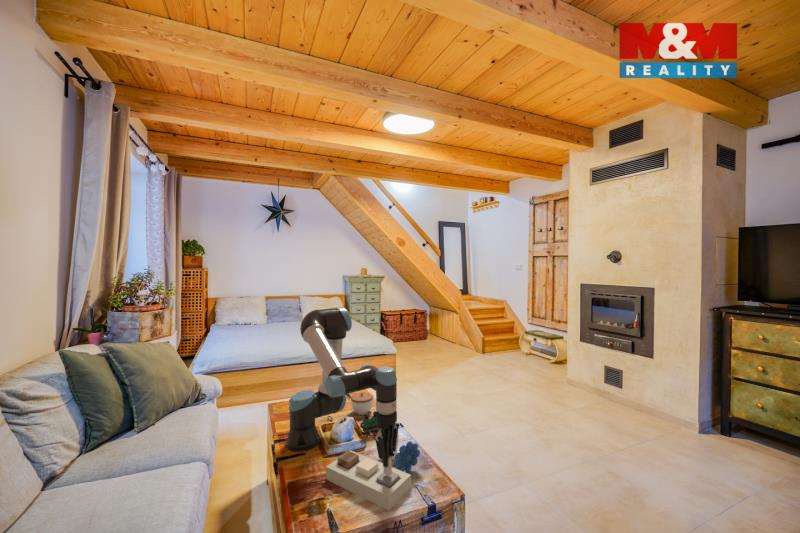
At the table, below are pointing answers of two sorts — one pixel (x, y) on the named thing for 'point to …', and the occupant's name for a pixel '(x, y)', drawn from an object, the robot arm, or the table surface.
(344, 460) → the walnut key
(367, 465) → the ivory key
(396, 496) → the key panel
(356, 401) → the lidded bowl
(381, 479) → the slate key
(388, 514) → the table surface
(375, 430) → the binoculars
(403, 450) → the grapes
